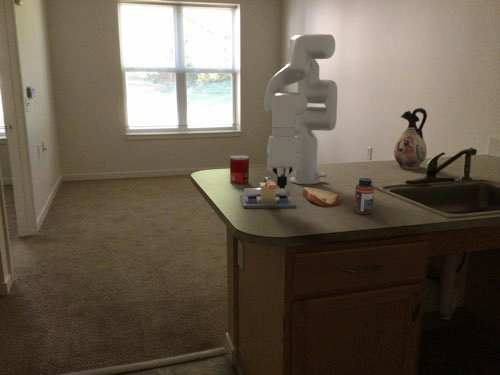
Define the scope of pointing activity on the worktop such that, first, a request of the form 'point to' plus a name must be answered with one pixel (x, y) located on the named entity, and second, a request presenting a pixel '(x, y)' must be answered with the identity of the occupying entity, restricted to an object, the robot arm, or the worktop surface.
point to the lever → (269, 182)
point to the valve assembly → (267, 197)
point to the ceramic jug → (411, 142)
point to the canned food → (239, 169)
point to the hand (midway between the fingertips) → (281, 187)
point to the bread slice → (321, 197)
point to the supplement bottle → (364, 196)
